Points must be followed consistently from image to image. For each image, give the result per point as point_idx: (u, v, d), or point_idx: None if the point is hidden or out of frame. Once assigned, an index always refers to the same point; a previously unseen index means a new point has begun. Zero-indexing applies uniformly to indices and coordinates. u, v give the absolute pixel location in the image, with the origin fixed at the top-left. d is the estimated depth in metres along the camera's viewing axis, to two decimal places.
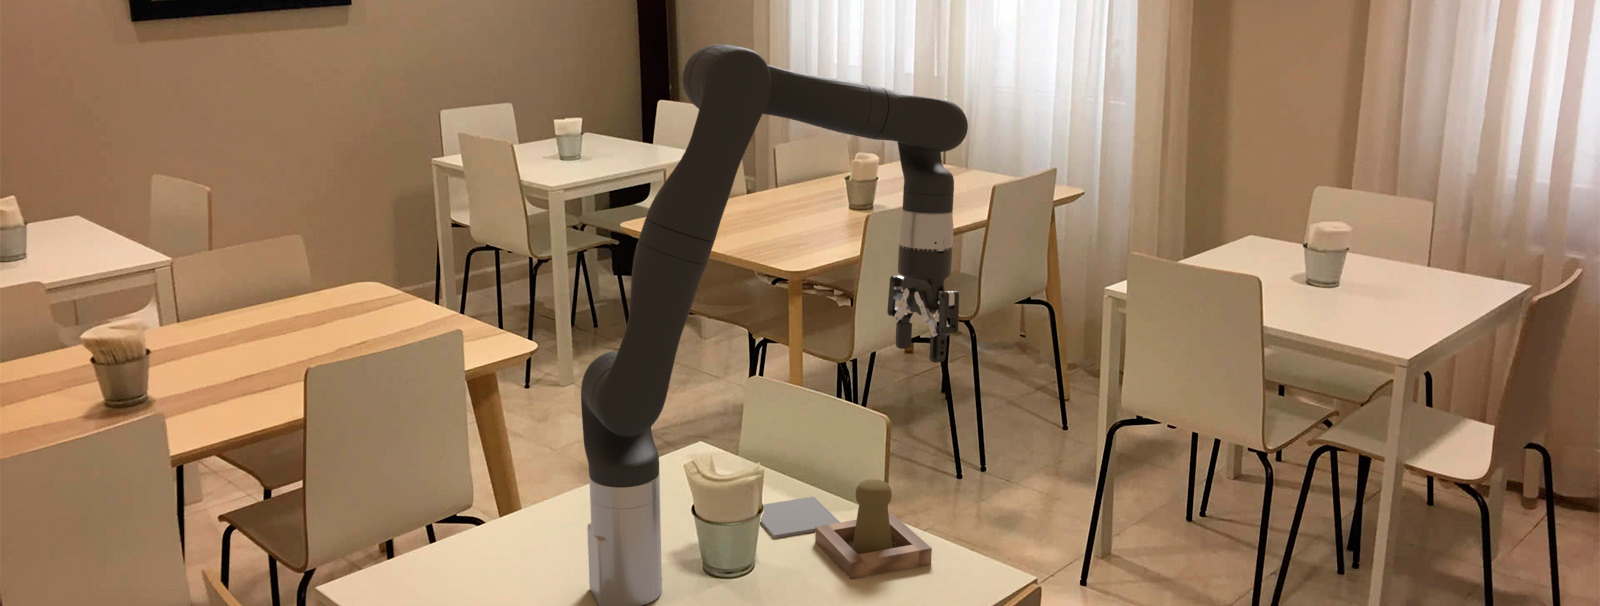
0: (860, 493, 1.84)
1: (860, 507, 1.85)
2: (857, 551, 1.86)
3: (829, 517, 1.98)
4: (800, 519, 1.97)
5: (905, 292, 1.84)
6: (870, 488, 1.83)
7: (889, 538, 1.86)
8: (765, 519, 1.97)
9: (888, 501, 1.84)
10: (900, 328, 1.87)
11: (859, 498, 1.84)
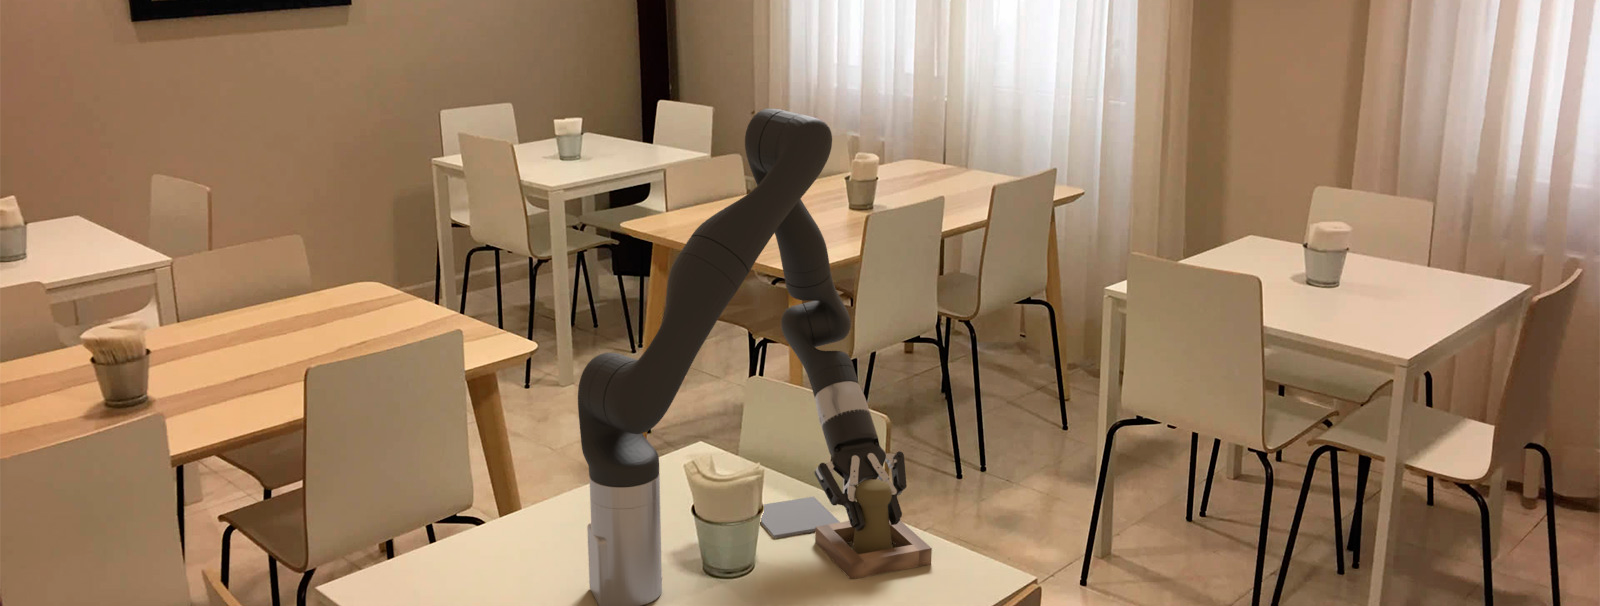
0: (860, 493, 1.84)
1: (860, 507, 1.85)
2: (857, 551, 1.86)
3: (829, 517, 1.98)
4: (800, 519, 1.97)
5: (854, 460, 1.87)
6: (870, 488, 1.83)
7: (889, 538, 1.86)
8: (765, 519, 1.97)
9: (888, 501, 1.84)
10: None
11: (859, 498, 1.84)
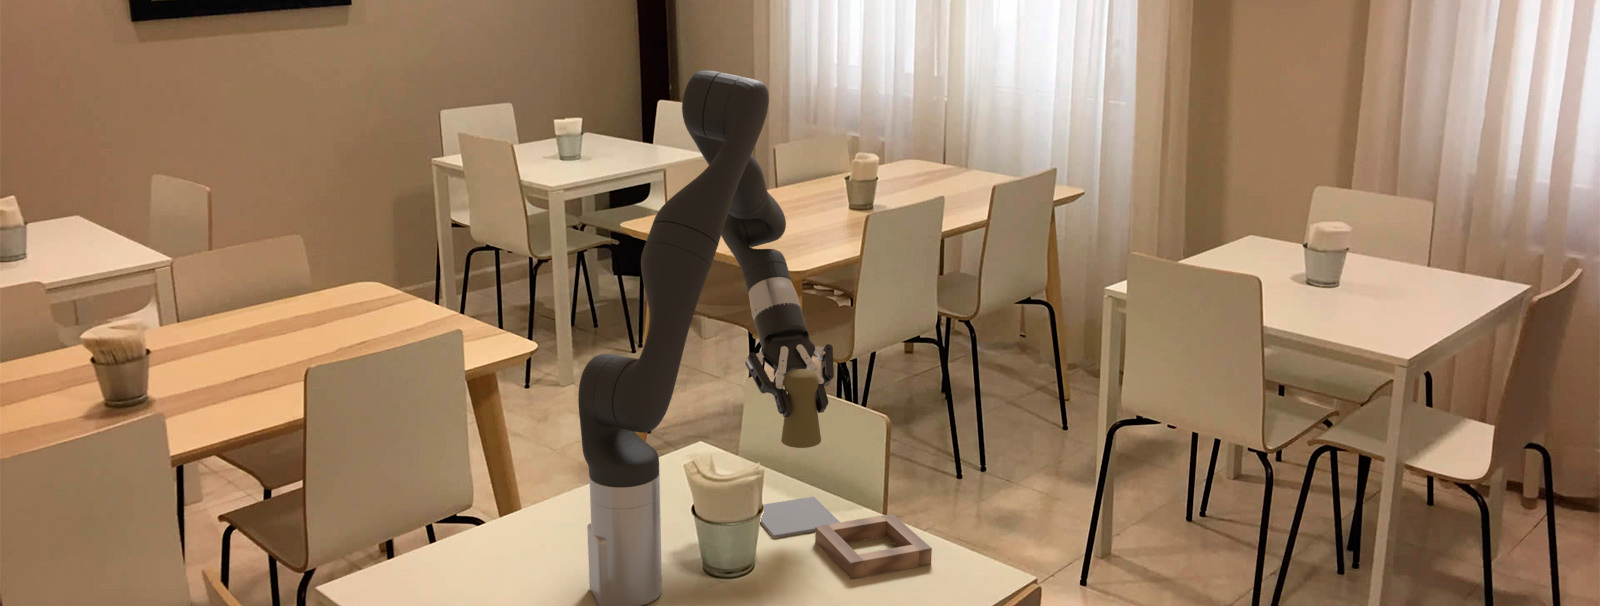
0: (788, 381, 1.91)
1: (788, 395, 1.92)
2: (786, 437, 1.93)
3: (829, 517, 1.98)
4: (800, 519, 1.97)
5: (783, 350, 1.94)
6: (797, 376, 1.90)
7: (816, 425, 1.93)
8: (765, 519, 1.97)
9: (814, 389, 1.91)
10: None
11: (787, 386, 1.91)
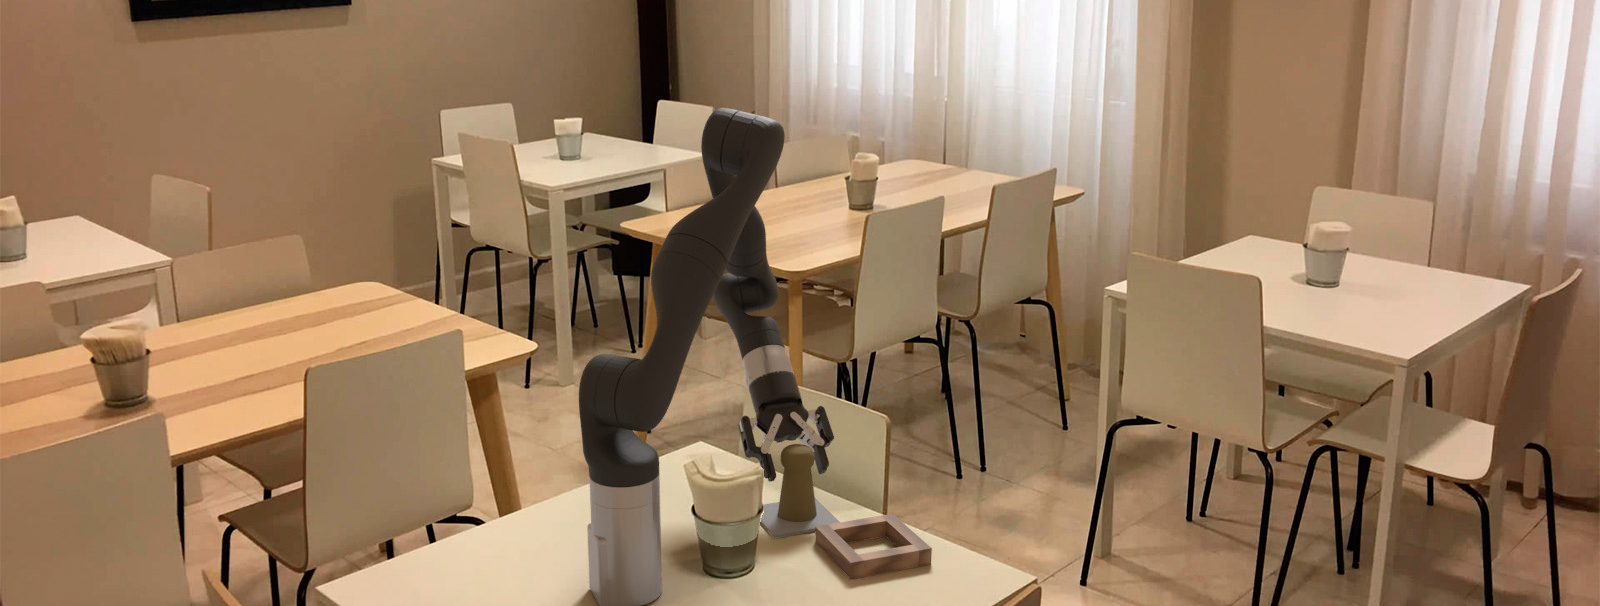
0: (784, 456, 1.95)
1: (785, 470, 1.97)
2: (782, 511, 1.97)
3: (829, 517, 1.98)
4: None
5: (776, 418, 1.98)
6: (794, 452, 1.95)
7: (812, 500, 1.97)
8: (765, 519, 1.97)
9: (811, 464, 1.96)
10: None
11: (784, 461, 1.95)
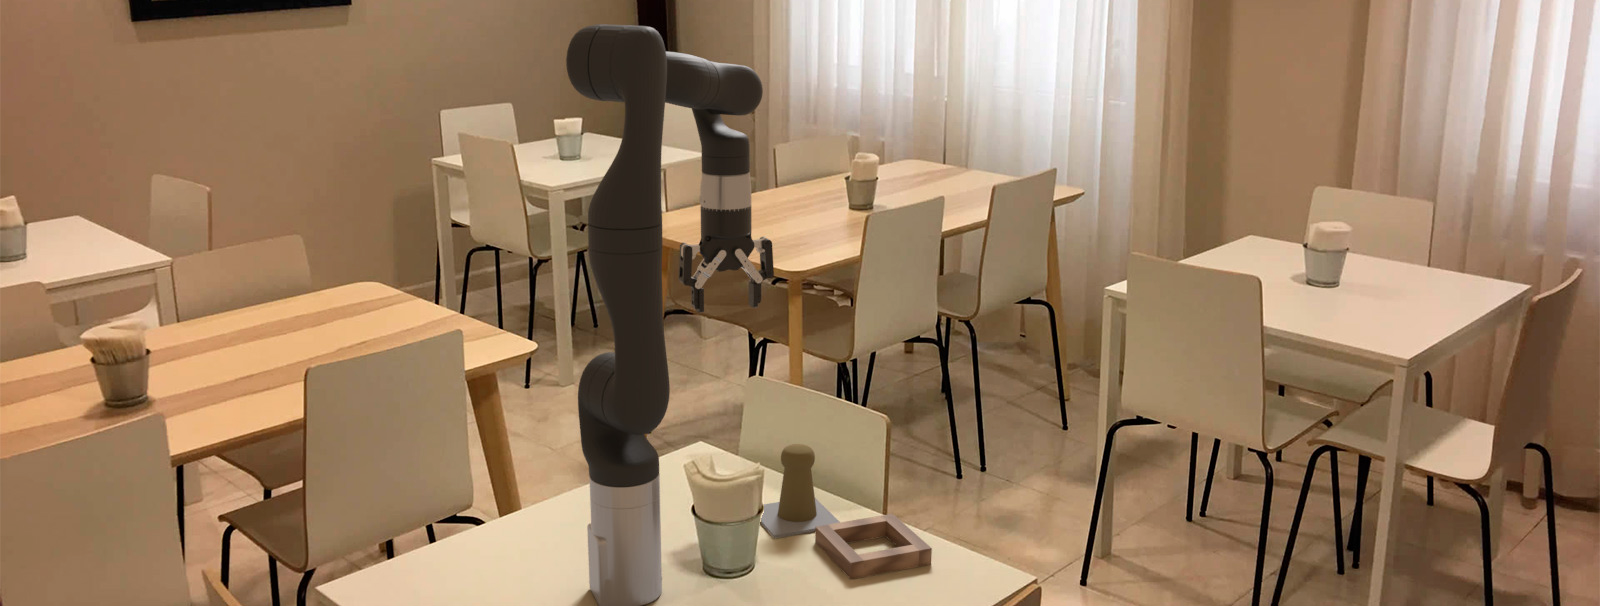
0: (785, 456, 1.95)
1: (785, 470, 1.97)
2: (782, 511, 1.97)
3: (829, 517, 1.98)
4: None
5: (720, 254, 1.90)
6: (794, 452, 1.95)
7: (812, 500, 1.98)
8: (765, 519, 1.97)
9: (811, 464, 1.96)
10: None
11: (784, 461, 1.95)
